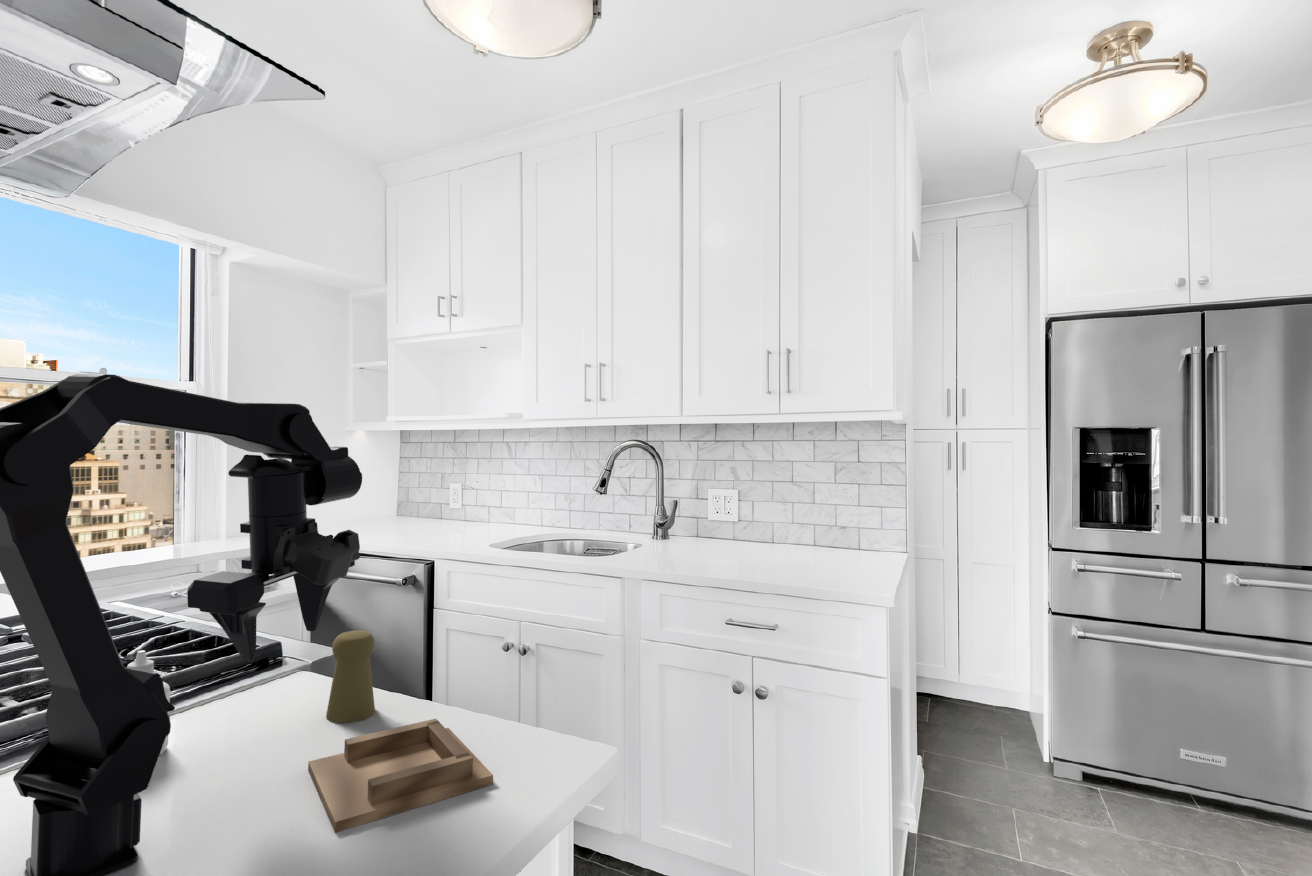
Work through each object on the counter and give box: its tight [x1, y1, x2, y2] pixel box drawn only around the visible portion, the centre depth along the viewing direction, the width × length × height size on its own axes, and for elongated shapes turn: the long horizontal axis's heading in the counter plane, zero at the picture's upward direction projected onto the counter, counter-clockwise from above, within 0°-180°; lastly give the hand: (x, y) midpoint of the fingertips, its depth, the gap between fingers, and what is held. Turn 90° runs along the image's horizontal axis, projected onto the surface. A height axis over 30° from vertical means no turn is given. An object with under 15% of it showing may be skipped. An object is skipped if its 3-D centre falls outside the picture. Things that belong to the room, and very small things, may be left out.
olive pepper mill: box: [325, 630, 376, 724], centre depth 88 cm, size 6×6×11 cm
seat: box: [307, 718, 494, 833], centre depth 73 cm, size 16×14×3 cm
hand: (282, 645), depth 76 cm, fingers open, 9 cm apart
